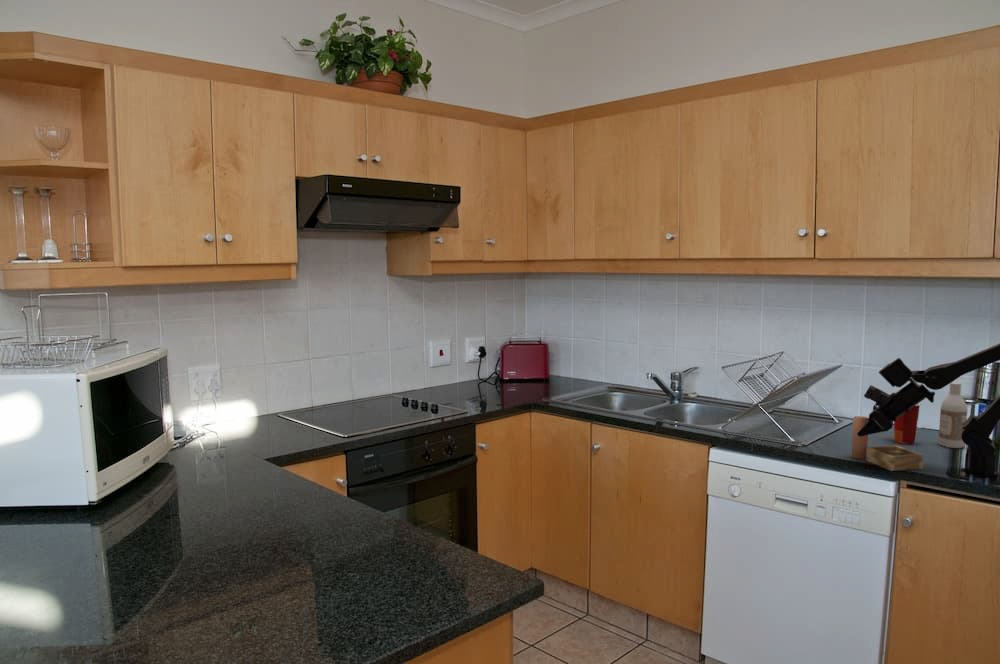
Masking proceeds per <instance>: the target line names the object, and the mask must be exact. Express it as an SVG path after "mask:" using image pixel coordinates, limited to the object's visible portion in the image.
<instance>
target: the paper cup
mask: <svg viewBox="0 0 1000 664" xmlns="http://www.w3.org/2000/svg"><path fill="white" fill-rule="evenodd" d="M920 406H921V402H919V403H918V404H917V405H915V406H914V407H912V408H911V409H910V410H909V411H908V412H907V413H906V412H905V413H904V414H902V415H901V416H900V417H898V418H897V420H896V421H893V431H894V433H893V434H894V435H893V436H894V438H893V439H894V442H895V443H897V442H898V444H901V443H902V444H901V445H914V444H915V442H916V437H917V436H916V435H917V427H918V422H919V414H920V413H919V412H920ZM913 443H914V444H913Z"/></svg>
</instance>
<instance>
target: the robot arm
mask: <svg viewBox="0 0 1000 664" xmlns="http://www.w3.org/2000/svg"><path fill="white" fill-rule="evenodd" d="M998 361H1000V342H999V343H997V344H995V345H992V346H989V347H988V348H985V349H983V350H981V351H978V352H976V353H973V354H971V355H968V356H966V357H964V358H961V359H959V360H956V361H953V362H952V361H951V362H947V363H942V364H937V365H933V366H929V367H928V368H926V369H925V370H924V369H923V370H911V369H910V368H909V367H908V365H906V364H905V363H904V361H903V360H902V359H901V358H900V357H897V358H896V359H895V360H893V361H891V362H890V363H888V364H886V365H885V366H883V367H882V368H881V369H880V370H879V371H878V373H879V375H880V376H881V377H883V379H884V380H885V381H886V382H887V383H888V384H889V385H890V386H891V387H892V388H894V387H896V388H900V389H899V390H898V391H896V392H892V393H891V394H889V393H887V392H885V391H884V390H882V389H880V388H878V387H876V386H874V385H869V386H868V388H867V390H866V392H865V393H864V395H863V397H864V398H865V399H867V400H871V401H873V402H874V404H873V406H872V411H871V412H870V413H869V415H868V418H869V421H868V422H867V423H866V424H865V426H864V427H863V428H862V429H861V430H860V431H859V432H858V433H857V435H858V436H859V437H860V436H865V435H868V436H869V435H874V434H878V433H884V432H886V433H887V432H888V431H889V430H891V429H892V428H893V427H894V421H896V420H897V418H898V417H900V416H901V415H902V414H904V413H905V412H906V413H907V412H908V411H909V410H910V409H911V408H912V407H914V406H915V405H917V404H918V403H919V402H920V403H921V402H923V401H924V400H925V399H927V400H928V401H929V402H930V403H934V401H935V395H936V391H939V390H940V389H944V388H945V387H946V386H948V385H950V383H951V382H955V381H956V380H957V379H958V378H960V377H962V376H964V375H965V374H966V375H967V374H968V373H969V374H970V373H972V372H973V371H976V370H978V369H980V368H983V367H984V368H985V366H989V365H991V364H993V363H996V362H998ZM908 382H909V383H908ZM918 383H919V384H918ZM904 385H905V386H904ZM929 389H930V390H933V391H930V390H929ZM999 421H1000V394H998V396H996V398H995V399H994V400H993V401H992V402H991V403H990V405H989V406H987V408H986V409H985V410H984V411H982V412H981V413H980V414H978V415H975V414H974V413H973V412H971V414H970V415H969V417H967V420H966V421H965V422H963V423H962V428H961V437H962V440H963V442H964V443H965V445H966V446H968V448H966V452H965V459H964V467H962V468H960V471H963V472H965V473H969V474H970V475H973V476H976V477H979V478H985V477H995V476H1000V473H999V472H996V471H995V470H996V459H997V457H996V456H997V453H995V452H996V446H995V443H994V441H993V439H991V435H992V433H993V431H994V429H995V427H996V425H997V424H998V422H999Z"/></svg>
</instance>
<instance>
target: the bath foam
mask: <svg viewBox="0 0 1000 664" xmlns="http://www.w3.org/2000/svg"><path fill="white" fill-rule="evenodd" d="M961 389H962V383H961V382H957V381H956V382H955V381H953V382H951V383H950V384H949V393H948V395H947V396H946V397H945V398H944V400H943V401H942V403H941V406H940V415H939V429H938V430H939V431H938V433H939V434H938V444H939V445H940V446H941V445H942V446H941V447H944V446H945V448H950V449H951V448H952V449H962V448H965V445H966V444H965V443H964V442H963V440H962V437H961V428H962V423H963V422H965V421H966V420H967V419H968V406H967V403H966V402H965V400H964V398H963V397H962V394H961V391H962V390H961Z"/></svg>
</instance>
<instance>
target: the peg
mask: <svg viewBox="0 0 1000 664" xmlns="http://www.w3.org/2000/svg"><path fill="white" fill-rule="evenodd" d="M852 421H853V422H852V423H853V424H852V439H851V458H853V459H855V458H857V459H856V460H866V459H865V458H866V451H867V447H868V442H869V437H868V436H869V435H865V436H860V437H859V436H858V435H857V433H858V432H859V431H860V430H861V429H862V428H863V427H864V426H865V424H866V423H867V422H868V421H869V417H867V416H859V415H858V416H857V415H856V416H853V420H852Z"/></svg>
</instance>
